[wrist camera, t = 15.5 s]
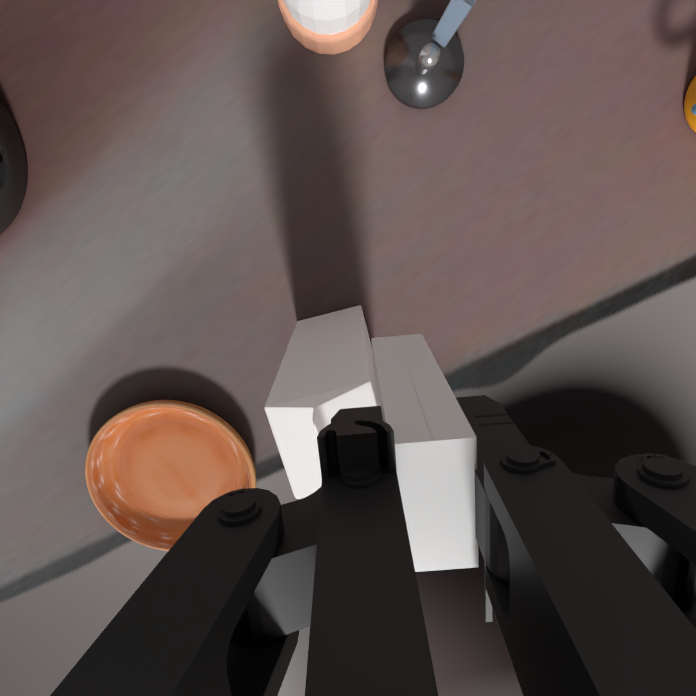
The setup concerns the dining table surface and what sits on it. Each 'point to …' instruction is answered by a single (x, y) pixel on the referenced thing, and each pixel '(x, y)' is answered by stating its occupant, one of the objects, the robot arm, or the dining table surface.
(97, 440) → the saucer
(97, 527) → the dining table surface
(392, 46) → the shiny grey rounded piece
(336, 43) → the pepper shaker
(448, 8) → the light blue rectangular panel
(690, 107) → the tube with blue loops
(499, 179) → the dining table surface
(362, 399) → the milk
